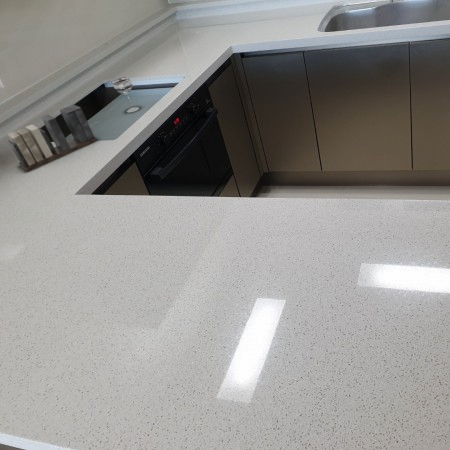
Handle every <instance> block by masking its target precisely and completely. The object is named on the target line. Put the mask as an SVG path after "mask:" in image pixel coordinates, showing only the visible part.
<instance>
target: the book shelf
mask: <svg viewBox="0 0 450 450" xmlns="http://www.w3.org/2000/svg"><path fill="white" fill-rule="evenodd" d="M59 112H60V114H61V116H62V117H63V120H64V122H65V124H66V126H67V128H68V130H69V131H70V134H71V137H72V139H70V140H67V138H66V137H65V134H64V132H63V131H62V129H61V127H60V124H59V123H58V121H57V119H56V117H54V116H52V115H50V114H45V115H43V116H41V117H40V118H41V120H42V122H43V124H44V126H45V128H46V129H47V131H48V133H49V135H50V137H49V135H48V133H47V132H46V131H45V130H43V129H42V128H40V127H37V128H38V129H39V130H40V132H41V134H42V136H43V138H44V140H45V142H46V143H47V145H48V147H49V149H50V151H51V153H52V155H53V156H51V157H49V158H45V157H44V156H43V155H41V154H40V152H39V150H38V148H37V147H36V145H35V143H34V141H33V139H32V138H31V136H30V134H29V132H28V131H27V129H25V128H23V127H22V128H19V129H17V130H15V131H12V132H9V133H7V136H8V138H9V139H8V140H7V142H8V144H9V146H10V148H11V149H12V151H13V153H14V154H15V156H16V158H17V160H18V161H19V162H18V165H19V166H20V168H21V169H23V170H24V171H26V172H30V171H32V170H35V169H37V168H39V167H42V166H44V165H46V164H48V163H50V162H53V161H55V160H57V159H60V158H62V157H64V156H66V155H68V154H70V153H73V152H75V151H78V150H80V149H82V148H84V147H86V146H89V145H91V144H93V143H95V142H97V141H98V140H97V138H96V136H95V135H94V133H93V131H92V128H91V126H90V124H89V122H88V120H87V118H86V115H85V113H84V111H83V109H82V107H81V106H78V105H76V104H71V105H68V106H66V107H63V108H60V109H59ZM50 138H51V139H52V140H51V139H50ZM52 141H53V143H54V145H55V146H54V145H53V143H52Z"/></svg>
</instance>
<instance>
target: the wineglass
mask: <svg viewBox="0 0 450 450" xmlns="http://www.w3.org/2000/svg"><path fill="white" fill-rule="evenodd" d="M112 84H113V88H114V90H115V91H116V92H117V93H119V94H121V95H122V94H123V95H125V96H126V98H127V101H128V103H129V105H130V108H129V109H128V110H126V113H134V112H136V111H138V110H140V107H138V106H135V107H134V106H133V105H132V102H131V100H130V99H131V98H130V96H129V94H130V92H131V91H132V89H133V81H132V80H131V77H130V76H122V77H119V78H116V79H114V80H112Z"/></svg>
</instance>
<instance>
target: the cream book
mask: <svg viewBox="0 0 450 450" xmlns="http://www.w3.org/2000/svg"><path fill="white" fill-rule="evenodd" d="M38 128H39V127H37V126H36V125H35V124H29V125H26V126H25V130H26V131H28V132H29V134H30V136H31V138H32V139H33V141H34V143H35V145H36V147H37V148H38V150H39V152H40V154H41V155H43V156H44V157H45V158H49V157H51V156H53V155H52V153H51V151H50V149H49V147H48V145H47V143H46V142H45V140H44V138H43V136H42V134H41V132H40V130H39V129H38Z"/></svg>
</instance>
